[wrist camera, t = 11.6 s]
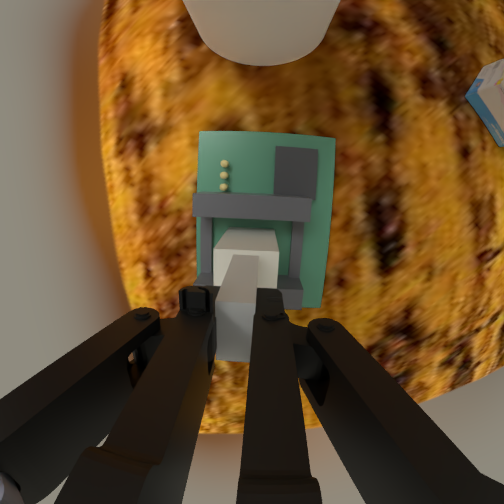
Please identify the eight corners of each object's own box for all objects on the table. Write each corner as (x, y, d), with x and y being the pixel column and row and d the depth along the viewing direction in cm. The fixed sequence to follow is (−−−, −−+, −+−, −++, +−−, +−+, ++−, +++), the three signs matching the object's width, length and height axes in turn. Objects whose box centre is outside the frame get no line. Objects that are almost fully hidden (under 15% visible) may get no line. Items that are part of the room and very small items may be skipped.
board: (203, 133, 24) (188, 123, 19) (331, 140, 24) (348, 131, 19) (200, 295, 28) (187, 320, 23) (317, 301, 28) (328, 327, 23)
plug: (228, 226, 25) (213, 248, 17) (274, 228, 25) (279, 251, 17) (228, 271, 26) (214, 310, 18) (271, 273, 26) (274, 313, 18)
